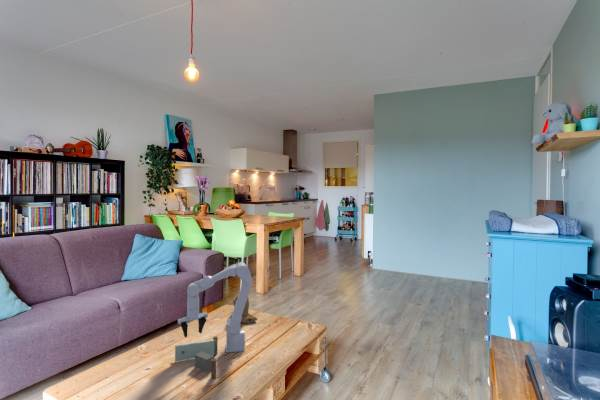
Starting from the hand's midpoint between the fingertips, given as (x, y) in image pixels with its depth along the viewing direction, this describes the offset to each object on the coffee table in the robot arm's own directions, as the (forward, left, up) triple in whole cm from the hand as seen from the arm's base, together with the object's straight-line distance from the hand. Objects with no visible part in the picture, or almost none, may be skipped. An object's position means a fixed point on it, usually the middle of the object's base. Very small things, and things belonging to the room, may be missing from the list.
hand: (193, 334), depth 162 cm
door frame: (-11, +13, -9) cm, 19 cm away
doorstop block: (-6, +15, -10) cm, 19 cm away
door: (-2, +6, -9) cm, 11 cm away
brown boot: (-27, -37, -10) cm, 47 cm away
